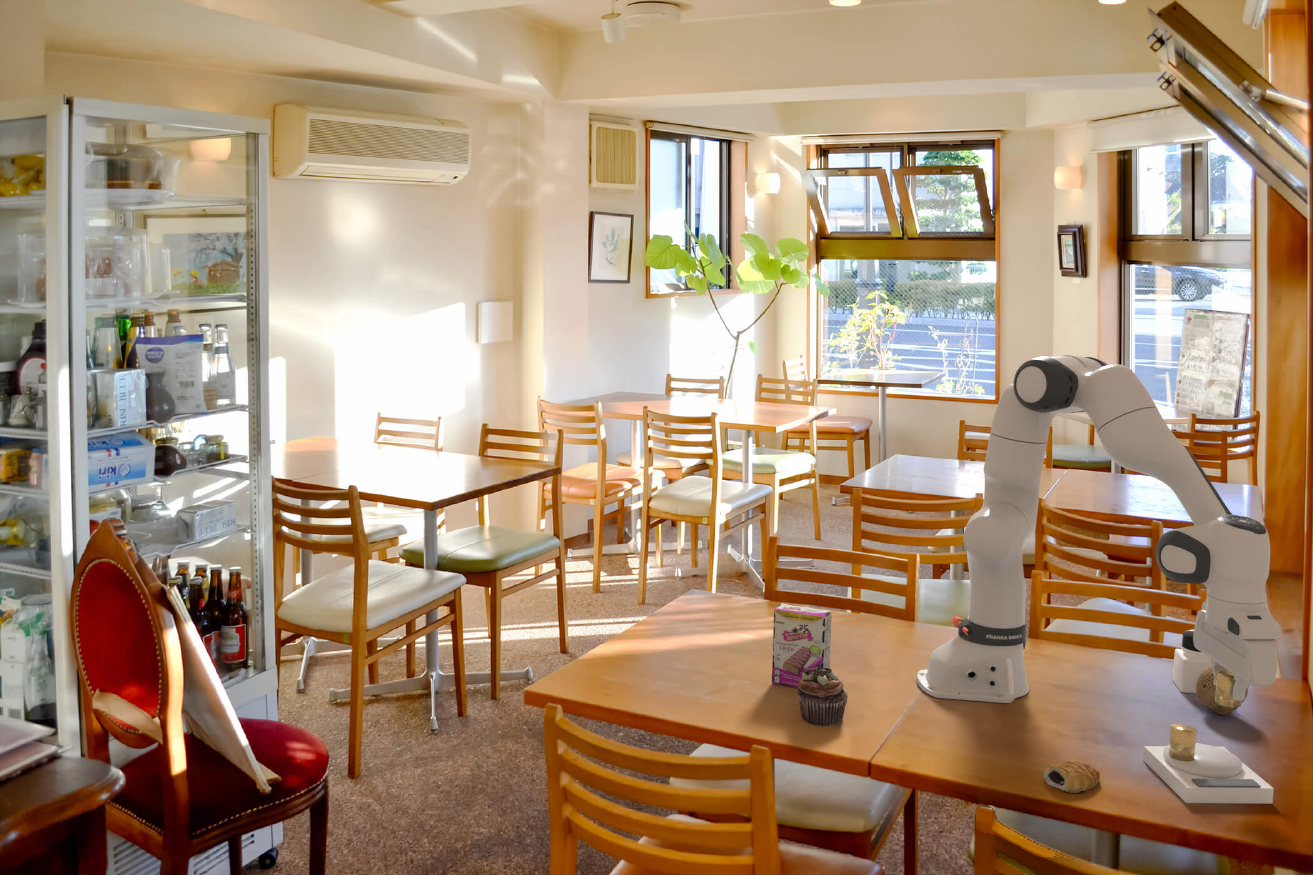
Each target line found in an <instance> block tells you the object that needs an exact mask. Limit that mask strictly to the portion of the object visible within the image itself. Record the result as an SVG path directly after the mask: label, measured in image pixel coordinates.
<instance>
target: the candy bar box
mask: <svg viewBox="0 0 1313 875" xmlns="http://www.w3.org/2000/svg"><path fill="white" fill-rule="evenodd" d="M831 629H832V610H828V609H822V608H821V609H820V608H815V607H809V606H802V605H795V604H787V603H779V605H777V606H776V607H775V608H774V609H773V637H772V639H773V640H772V641H773V642H772V664H771V665H772V666H771V667H772V669H771V671H772V672H771V684H772V685H777V686H784V687H788V688H794V689H798V687H799V686H798V685H799V682H800V680H801V679H802V674H803V672H804V671H805V670H812V669H814V668H815V667H816V665H820V666H821V667H822V668H829V669H830V664H831V662H830V660H831V659H830V657H831V634H832V630H831ZM823 671H826V670H824V669H823Z"/></svg>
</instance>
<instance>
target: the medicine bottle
mask: <svg viewBox="0 0 1313 875" xmlns="http://www.w3.org/2000/svg"><path fill="white" fill-rule="evenodd" d="M1193 636H1194V629H1189V630H1185V631H1184V632H1183V633H1182V641H1181V648H1175V649H1174V658H1173V672H1172V681H1173V683H1174V684H1175V686H1176V687H1177V688H1178V690H1179V691H1180V693H1182V692H1183V693H1185V694H1196V683H1197V679H1198V677H1199V675H1200V674H1201V673H1202V672H1203V671H1204V670H1205V669H1207V668H1209V667H1212V666H1211V658H1209V657H1208V656H1207V655H1205V654H1204V653H1202V652H1201V651H1199V650H1198V649H1196V648H1195V646H1194V642H1193Z"/></svg>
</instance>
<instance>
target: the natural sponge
mask: <svg viewBox="0 0 1313 875" xmlns="http://www.w3.org/2000/svg"><path fill="white" fill-rule="evenodd" d="M1226 670H1227V669H1226ZM1227 671H1228V670H1227ZM1215 693H1216V685H1214V674H1213V670H1212V667H1209V668H1207V669H1205V670H1204V671H1203V672H1202V673H1201V674H1200V675H1199V677H1198V679H1197V683H1196V693H1195V694H1196V696H1197V697H1198V700H1199V701H1200V702H1202V703H1203V705H1206V706H1207V707H1209V708H1210V709H1212V711H1213V712H1214V713H1216V714H1218V715H1224V716H1226V715H1229V714H1231V713H1234V712H1235V711H1236V710H1238V709H1239V708H1240V707H1236V708H1232V707H1225V706H1222V705H1219V704H1217V703H1216V702H1215ZM1248 694H1249V687H1248V688H1247V689H1246V691H1245V699H1244V700H1242V704H1243V703H1244V702H1245V700H1246V698H1247V696H1248Z"/></svg>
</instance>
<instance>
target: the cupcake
mask: <svg viewBox="0 0 1313 875" xmlns="http://www.w3.org/2000/svg"><path fill="white" fill-rule="evenodd" d="M823 669H824V670H826V671H823ZM798 686H799V687H798V688H797V690H796V694H797V698H798V702H799V708H800V714H801V719H802V720H803V721H804V722H806V723H808V724H811V725H813V726H817V727H818V726H819V727H830V726H836V725H839V724H841V723H842V722H843V720H844V714H845V710H846V705H847V703H848V698H849V696H848V693H847V691H845V690H844V682H843V681H842V680H841V679H840V678H838V675H837V674H836V673H834V672H833V671H832V669H831V668H830V667H829V668H822V667H821V666H820V665H816V667H815V668H814V669H812V670H805V671H804V672H803V674H802V679H801V680H800V682H799V685H798Z"/></svg>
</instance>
